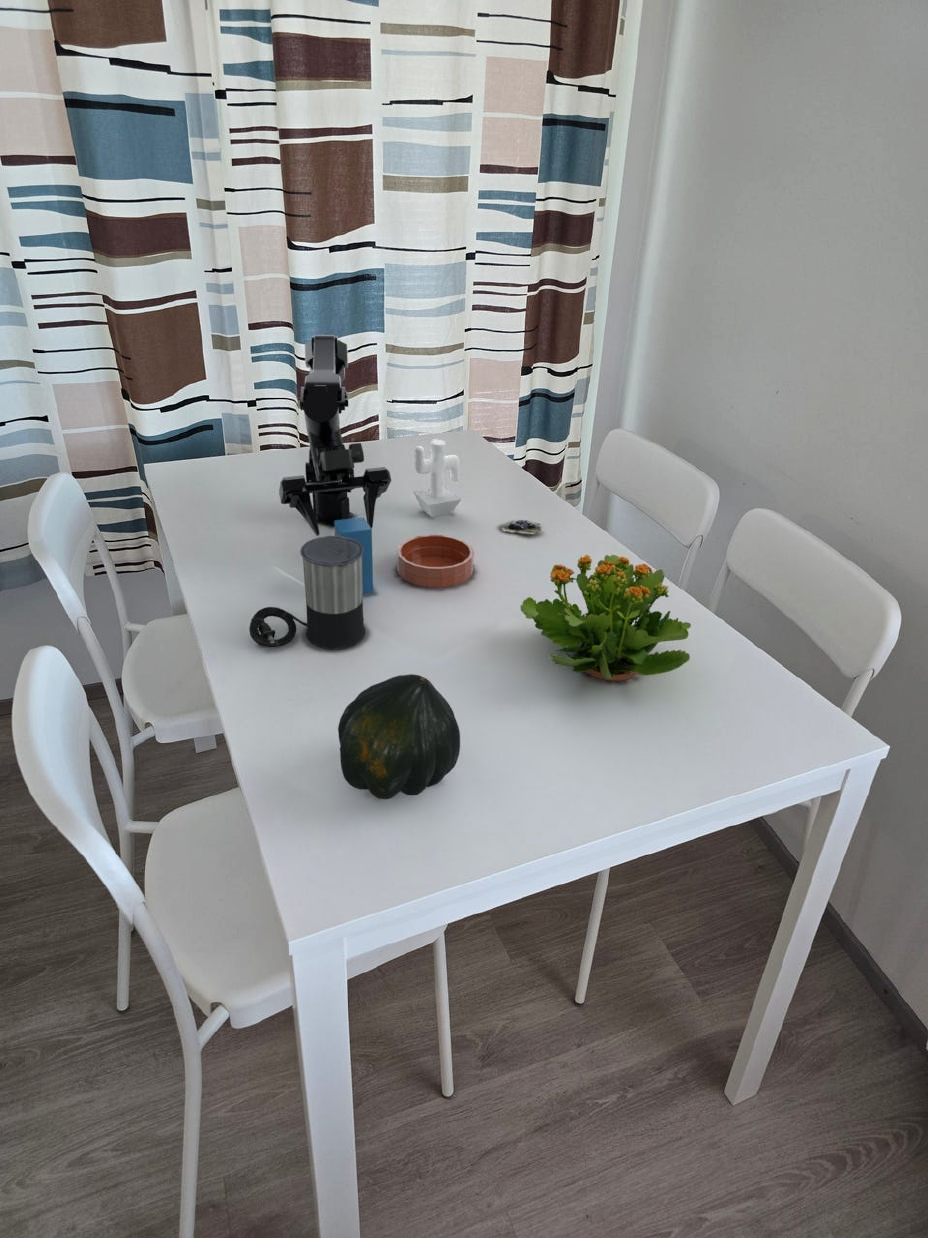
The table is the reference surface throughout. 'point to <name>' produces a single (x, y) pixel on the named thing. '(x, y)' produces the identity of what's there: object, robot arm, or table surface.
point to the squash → (398, 737)
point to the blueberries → (522, 527)
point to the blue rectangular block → (363, 535)
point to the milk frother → (323, 597)
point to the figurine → (437, 479)
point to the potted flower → (610, 620)
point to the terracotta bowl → (435, 561)
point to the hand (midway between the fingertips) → (344, 531)
